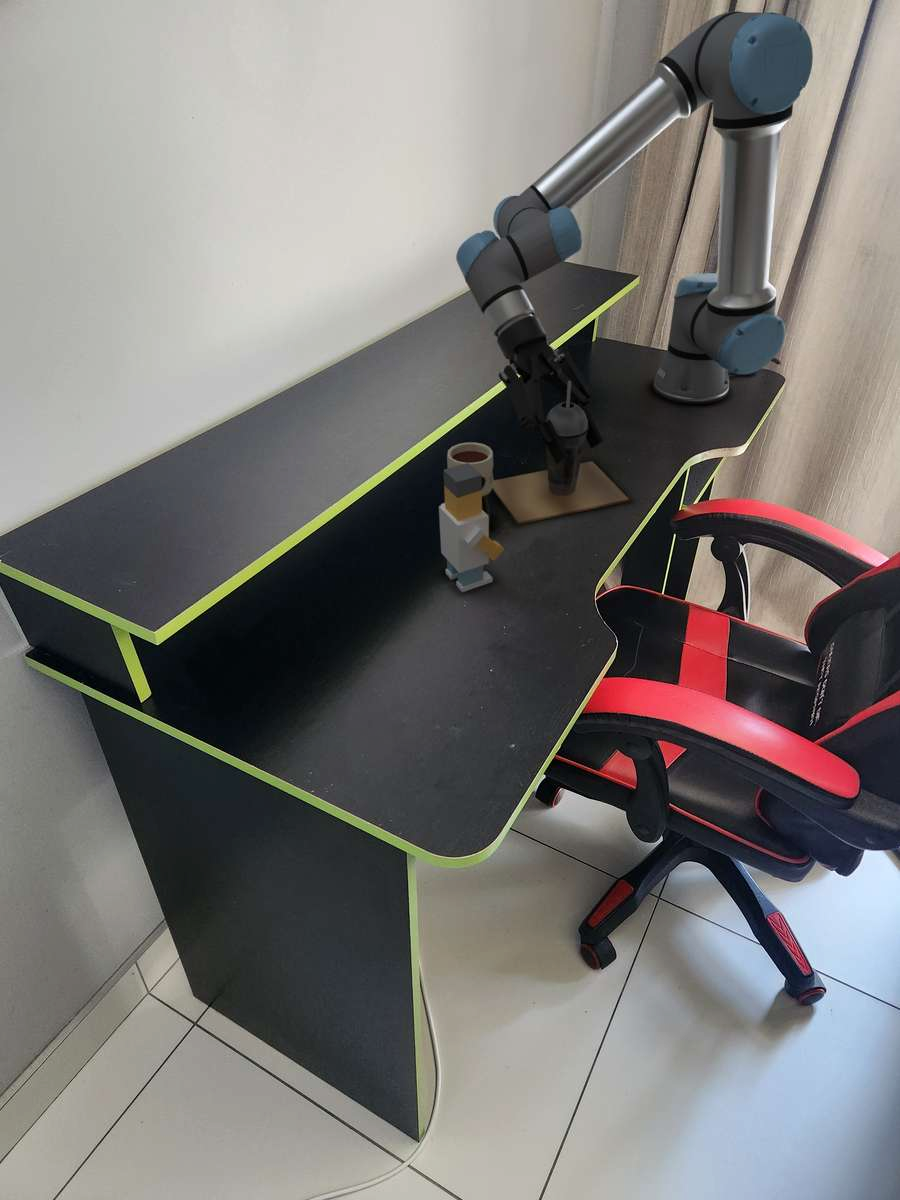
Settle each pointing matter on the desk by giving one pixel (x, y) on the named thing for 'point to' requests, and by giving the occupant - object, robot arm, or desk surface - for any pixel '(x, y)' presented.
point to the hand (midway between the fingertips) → (580, 452)
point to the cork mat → (536, 502)
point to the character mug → (475, 465)
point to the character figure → (465, 528)
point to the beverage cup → (567, 445)
